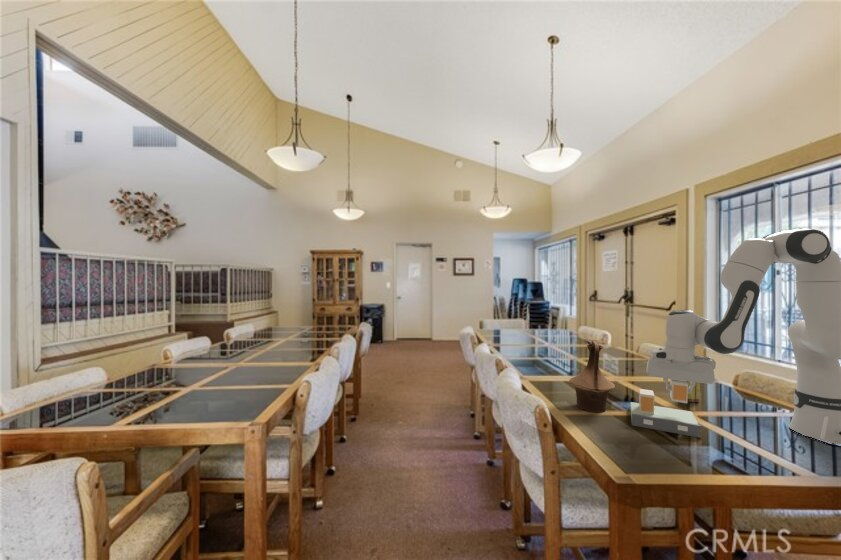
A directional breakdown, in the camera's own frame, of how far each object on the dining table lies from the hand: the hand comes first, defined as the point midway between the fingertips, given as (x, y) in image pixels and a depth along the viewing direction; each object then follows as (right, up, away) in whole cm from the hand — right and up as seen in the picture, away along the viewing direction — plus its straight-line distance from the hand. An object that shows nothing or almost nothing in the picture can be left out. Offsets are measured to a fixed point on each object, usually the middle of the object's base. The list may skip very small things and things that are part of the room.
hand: (678, 391), depth 131 cm
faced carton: (-9, -9, +5) cm, 13 cm away
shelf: (-5, -12, +2) cm, 13 cm away
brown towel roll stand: (-25, -12, +15) cm, 31 cm away
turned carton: (0, -3, 0) cm, 3 cm away
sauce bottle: (+22, -12, +23) cm, 34 cm away
